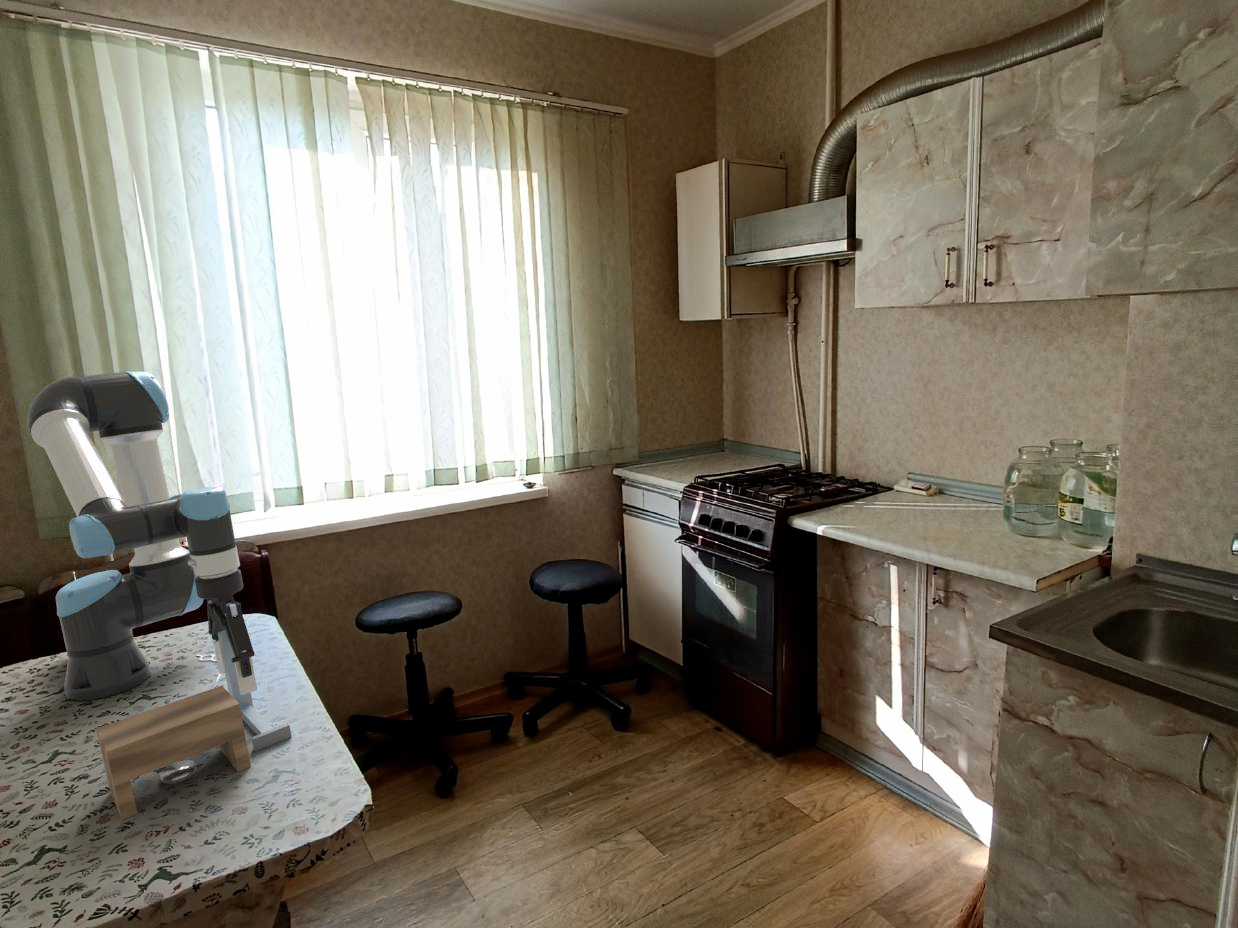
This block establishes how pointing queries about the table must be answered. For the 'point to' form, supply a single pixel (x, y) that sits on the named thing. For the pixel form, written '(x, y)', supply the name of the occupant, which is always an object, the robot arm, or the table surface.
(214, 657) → the scissors
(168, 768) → the steel token
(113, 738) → the wooden arch block
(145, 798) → the table surface
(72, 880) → the table surface
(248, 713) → the push tool
